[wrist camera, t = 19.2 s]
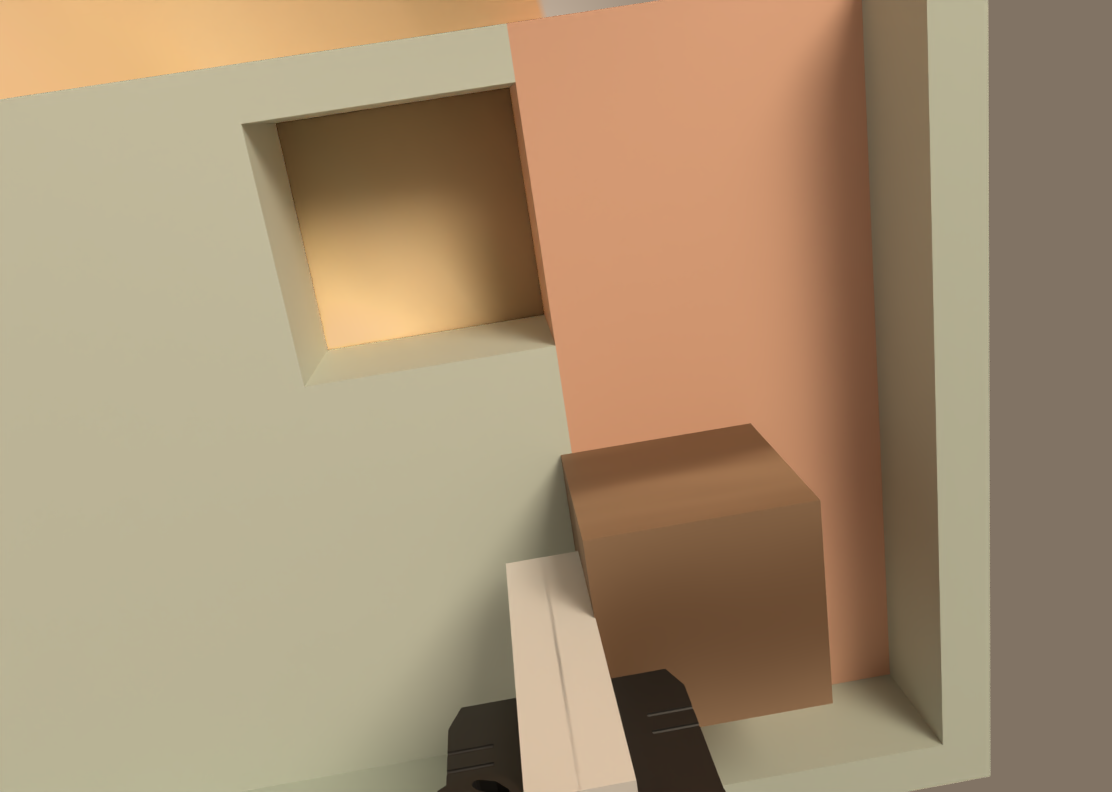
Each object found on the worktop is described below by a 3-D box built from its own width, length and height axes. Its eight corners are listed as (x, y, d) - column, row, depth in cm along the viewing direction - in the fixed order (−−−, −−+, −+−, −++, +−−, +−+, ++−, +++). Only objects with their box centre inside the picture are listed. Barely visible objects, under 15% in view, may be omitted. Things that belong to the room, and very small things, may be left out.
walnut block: (560, 455, 19) (582, 540, 15) (750, 422, 19) (820, 500, 15) (586, 623, 20) (613, 742, 16) (764, 592, 20) (833, 703, 16)
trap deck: (-453, 181, 18) (-824, 206, 13) (849, -15, 19) (987, -65, 14) (-154, 819, 23) (-336, 1023, 18) (878, 634, 24) (990, 776, 19)
